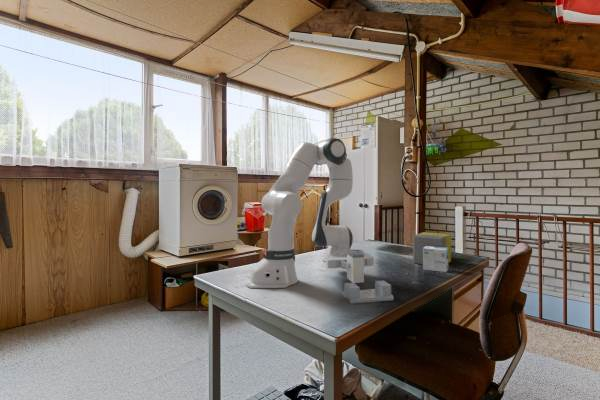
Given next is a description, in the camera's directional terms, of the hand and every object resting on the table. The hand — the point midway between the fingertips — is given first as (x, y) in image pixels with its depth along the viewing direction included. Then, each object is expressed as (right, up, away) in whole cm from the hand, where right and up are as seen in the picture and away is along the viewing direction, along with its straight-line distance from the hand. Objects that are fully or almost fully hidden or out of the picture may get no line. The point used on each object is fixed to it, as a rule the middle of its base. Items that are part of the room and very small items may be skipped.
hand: (356, 265), depth 124 cm
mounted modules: (+2, -8, -11) cm, 14 cm away
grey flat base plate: (+2, -9, -11) cm, 14 cm away
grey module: (0, -6, +1) cm, 6 cm away
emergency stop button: (+51, -7, +44) cm, 67 cm away
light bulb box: (+44, -8, +27) cm, 52 cm away
